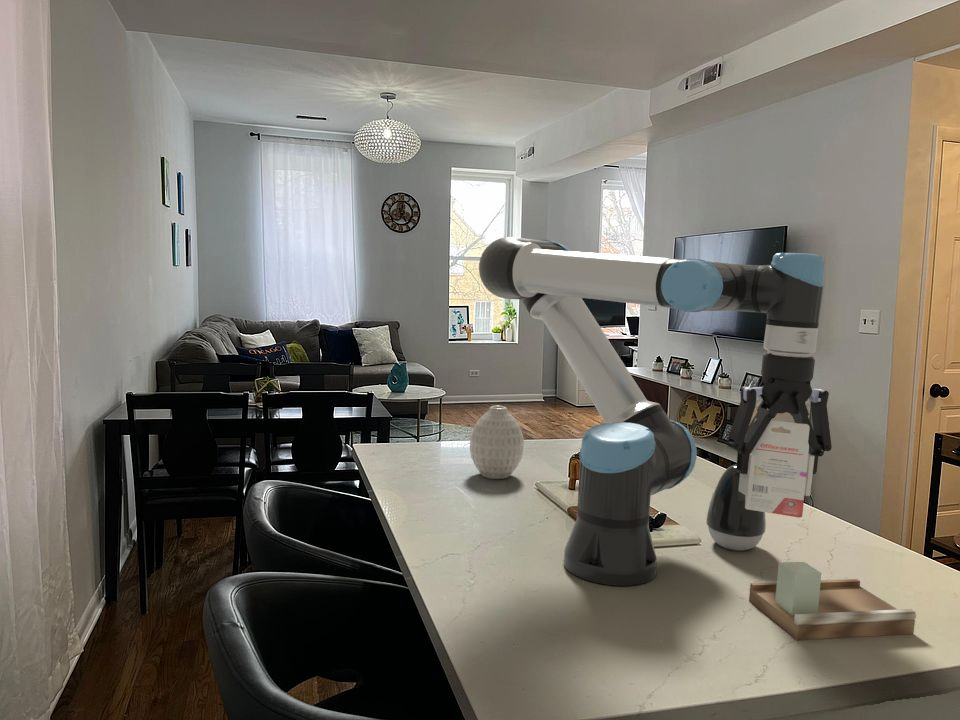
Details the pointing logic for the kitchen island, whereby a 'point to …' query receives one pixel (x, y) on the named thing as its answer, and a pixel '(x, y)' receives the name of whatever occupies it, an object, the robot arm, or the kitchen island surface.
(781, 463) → the ink cartridge box
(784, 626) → the brown wooden tray
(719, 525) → the pump dispenser
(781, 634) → the kitchen island surface
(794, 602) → the pale green block
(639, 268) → the robot arm
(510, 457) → the vase
